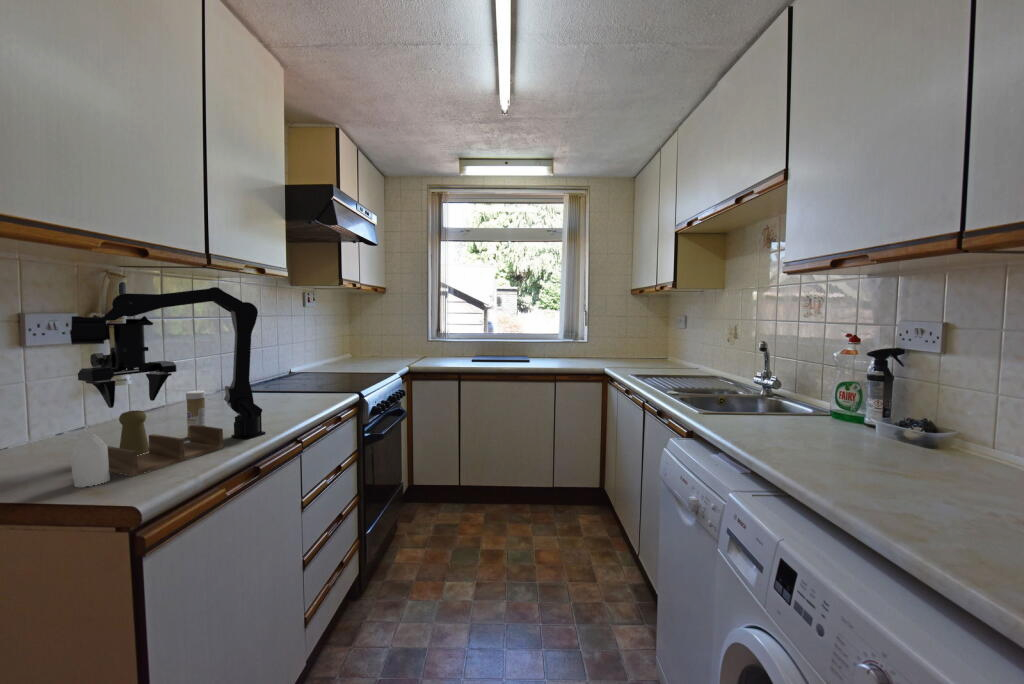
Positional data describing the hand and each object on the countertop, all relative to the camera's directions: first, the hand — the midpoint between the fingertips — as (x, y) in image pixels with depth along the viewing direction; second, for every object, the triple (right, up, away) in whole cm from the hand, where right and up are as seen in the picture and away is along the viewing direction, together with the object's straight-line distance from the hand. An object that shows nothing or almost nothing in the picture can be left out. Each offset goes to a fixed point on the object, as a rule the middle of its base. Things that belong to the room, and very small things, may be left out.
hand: (132, 403), depth 109 cm
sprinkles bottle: (+4, -12, +16) cm, 21 cm away
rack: (+11, -13, -3) cm, 17 cm away
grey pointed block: (+7, -15, -18) cm, 24 cm away
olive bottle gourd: (-1, -13, +1) cm, 13 cm away
